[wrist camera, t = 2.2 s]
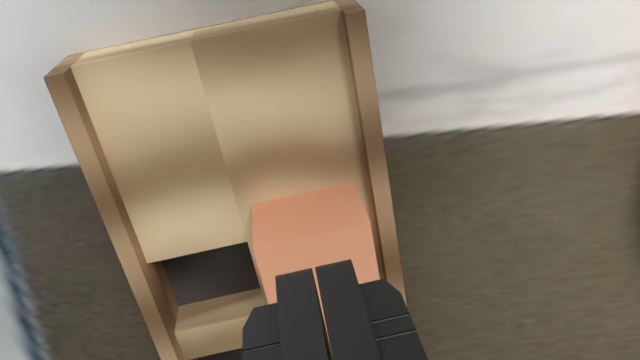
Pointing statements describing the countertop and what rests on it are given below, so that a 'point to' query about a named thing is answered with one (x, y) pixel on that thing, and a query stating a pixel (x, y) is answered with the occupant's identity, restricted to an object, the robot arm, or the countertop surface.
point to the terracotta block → (312, 235)
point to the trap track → (223, 156)
